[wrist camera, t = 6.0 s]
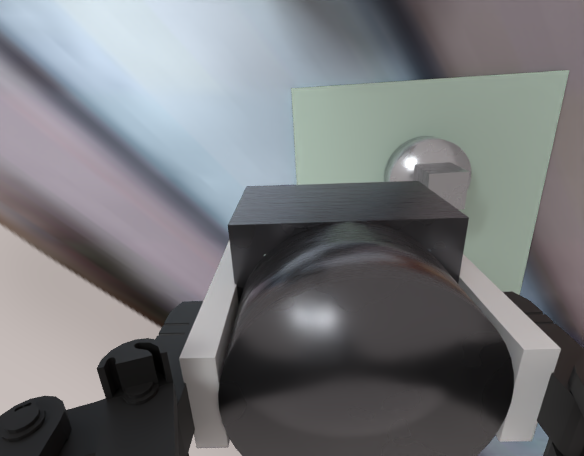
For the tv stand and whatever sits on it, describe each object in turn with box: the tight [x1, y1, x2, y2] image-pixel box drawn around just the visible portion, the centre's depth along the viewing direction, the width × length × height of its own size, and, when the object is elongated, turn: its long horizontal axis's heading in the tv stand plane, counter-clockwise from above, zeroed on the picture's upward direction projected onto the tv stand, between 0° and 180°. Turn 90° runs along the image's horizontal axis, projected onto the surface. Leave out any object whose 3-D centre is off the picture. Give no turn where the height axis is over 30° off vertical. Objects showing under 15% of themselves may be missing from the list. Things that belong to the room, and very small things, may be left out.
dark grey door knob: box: [218, 181, 514, 456], centre depth 11 cm, size 6×6×7 cm
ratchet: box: [384, 136, 471, 210], centre depth 29 cm, size 23×6×5 cm, turn 3°
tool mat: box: [291, 70, 569, 295], centre depth 31 cm, size 28×20×1 cm
